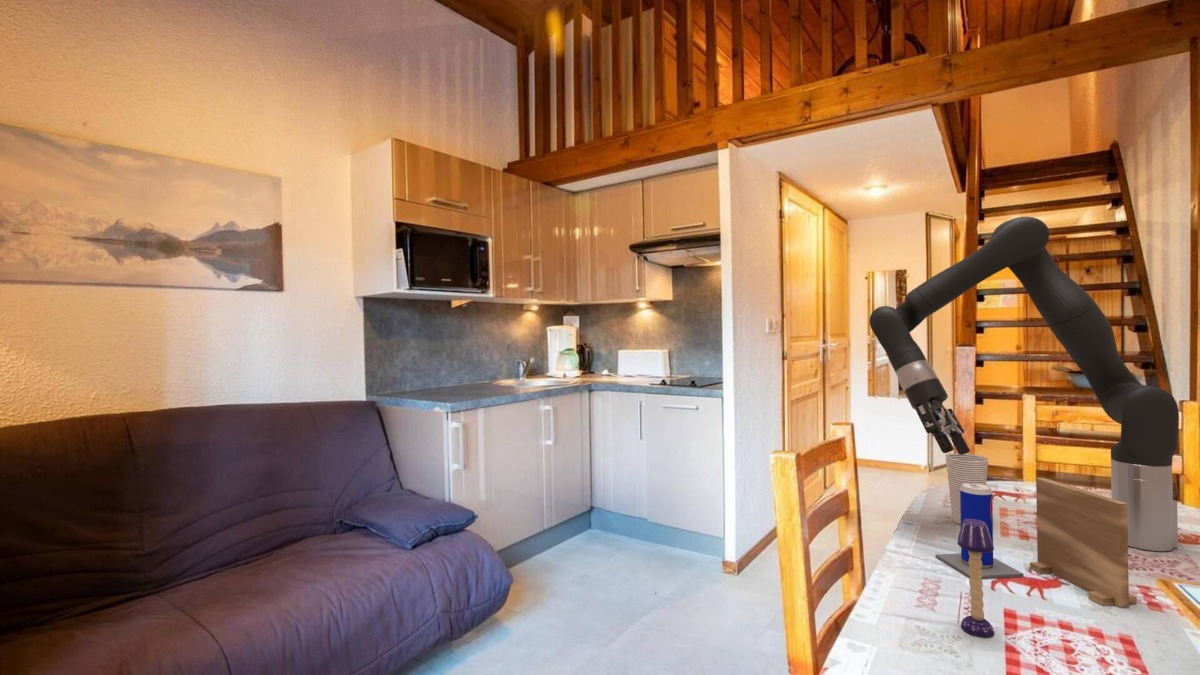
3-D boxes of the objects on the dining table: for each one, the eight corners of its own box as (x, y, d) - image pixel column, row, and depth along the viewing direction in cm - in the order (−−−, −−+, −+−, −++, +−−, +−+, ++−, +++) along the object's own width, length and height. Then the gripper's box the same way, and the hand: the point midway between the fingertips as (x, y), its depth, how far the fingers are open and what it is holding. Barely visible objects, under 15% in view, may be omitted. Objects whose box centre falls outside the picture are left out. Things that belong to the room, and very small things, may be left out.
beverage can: (998, 569, 104) (997, 490, 104) (968, 568, 105) (967, 489, 105) (985, 558, 109) (984, 482, 109) (956, 557, 110) (955, 481, 110)
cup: (950, 526, 129) (949, 459, 128) (943, 515, 136) (942, 452, 136) (994, 530, 125) (993, 462, 125) (984, 518, 133) (983, 454, 133)
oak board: (1056, 565, 107) (1055, 477, 107) (1141, 606, 91) (1140, 502, 91) (1026, 566, 107) (1025, 478, 106) (1106, 608, 91) (1105, 504, 91)
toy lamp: (951, 622, 88) (949, 516, 87) (979, 620, 88) (977, 515, 88) (974, 639, 83) (972, 527, 83) (1004, 636, 83) (1002, 525, 83)
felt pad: (983, 555, 112) (983, 552, 112) (1023, 576, 102) (1023, 573, 102) (935, 557, 112) (935, 554, 112) (971, 579, 102) (971, 576, 102)
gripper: (922, 373, 119) (961, 444, 111) (950, 380, 128) (987, 447, 120) (890, 388, 124) (925, 458, 116) (918, 395, 133) (953, 460, 125)
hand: (957, 452), depth 118 cm, fingers open, 8 cm apart
